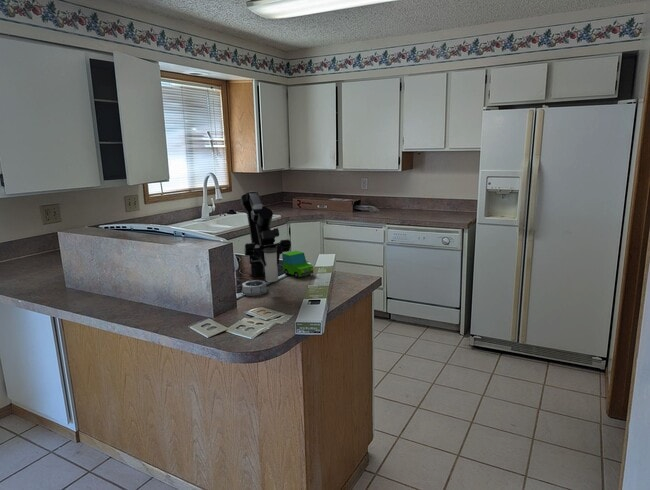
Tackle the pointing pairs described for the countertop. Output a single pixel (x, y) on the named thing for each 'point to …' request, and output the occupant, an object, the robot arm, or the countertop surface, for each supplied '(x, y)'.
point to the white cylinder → (271, 264)
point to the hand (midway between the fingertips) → (271, 265)
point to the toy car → (296, 264)
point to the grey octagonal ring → (254, 288)
